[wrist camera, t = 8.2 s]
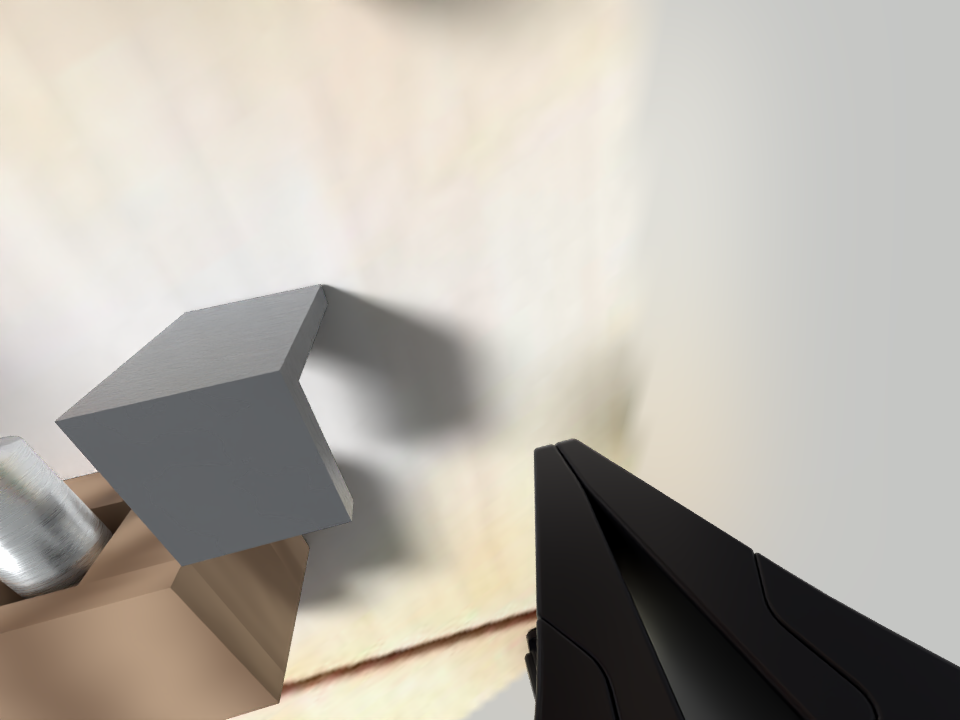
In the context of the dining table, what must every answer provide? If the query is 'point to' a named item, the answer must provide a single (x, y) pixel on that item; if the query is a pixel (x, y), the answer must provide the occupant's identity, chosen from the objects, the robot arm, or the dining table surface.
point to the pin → (42, 525)
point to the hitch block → (151, 629)
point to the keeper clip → (218, 430)
